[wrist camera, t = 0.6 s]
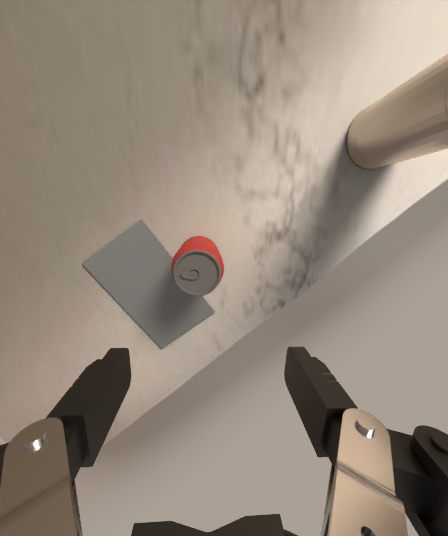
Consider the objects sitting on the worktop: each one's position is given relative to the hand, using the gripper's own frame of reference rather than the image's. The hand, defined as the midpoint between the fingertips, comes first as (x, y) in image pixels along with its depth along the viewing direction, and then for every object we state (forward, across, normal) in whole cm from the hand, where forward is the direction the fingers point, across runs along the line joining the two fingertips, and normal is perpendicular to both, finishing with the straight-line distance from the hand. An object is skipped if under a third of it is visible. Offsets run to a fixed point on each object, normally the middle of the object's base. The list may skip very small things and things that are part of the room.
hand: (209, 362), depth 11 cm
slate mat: (+26, +10, +6) cm, 28 cm away
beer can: (+26, +2, 0) cm, 27 cm away
